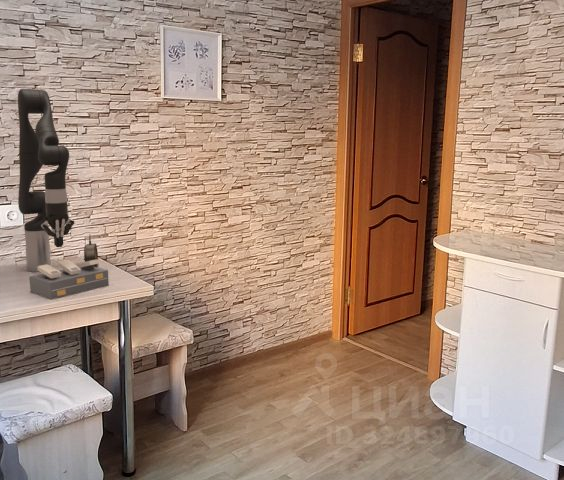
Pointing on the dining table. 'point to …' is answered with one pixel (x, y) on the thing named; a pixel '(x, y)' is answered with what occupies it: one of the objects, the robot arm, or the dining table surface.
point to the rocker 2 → (69, 267)
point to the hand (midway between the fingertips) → (58, 246)
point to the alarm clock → (90, 252)
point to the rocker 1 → (49, 271)
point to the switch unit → (69, 282)
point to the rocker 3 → (88, 263)
